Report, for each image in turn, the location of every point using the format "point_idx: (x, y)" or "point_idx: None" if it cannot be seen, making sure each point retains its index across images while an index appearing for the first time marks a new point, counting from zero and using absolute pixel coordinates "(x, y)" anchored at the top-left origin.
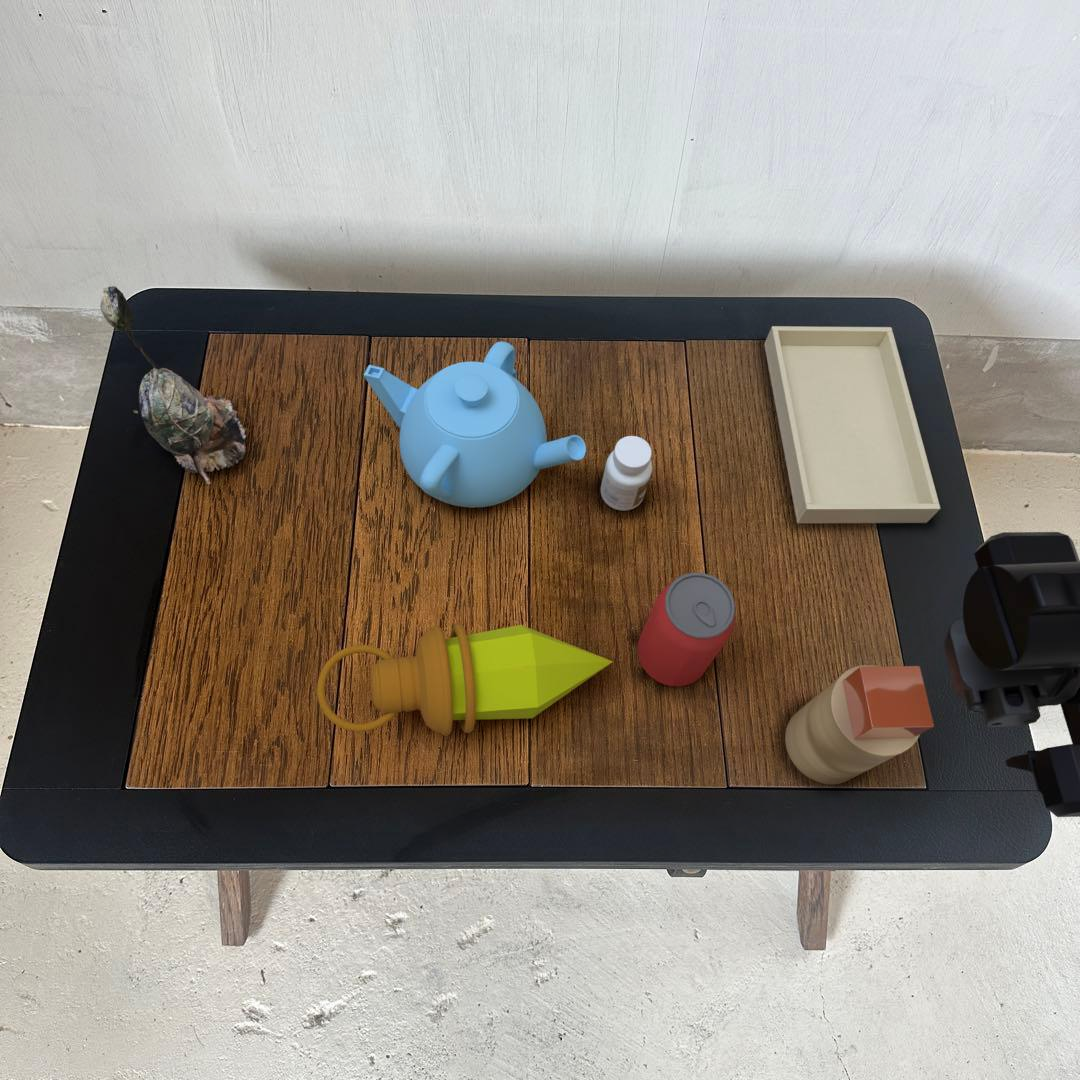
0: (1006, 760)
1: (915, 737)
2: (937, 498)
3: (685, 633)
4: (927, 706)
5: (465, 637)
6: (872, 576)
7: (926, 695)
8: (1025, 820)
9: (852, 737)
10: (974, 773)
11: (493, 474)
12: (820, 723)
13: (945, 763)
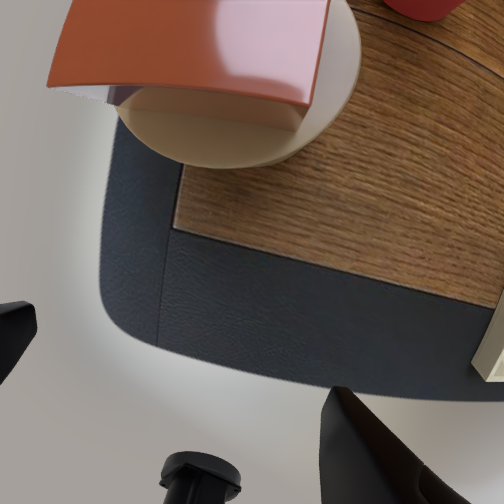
0: (26, 305)
1: (128, 118)
2: (494, 381)
3: None
4: (112, 77)
5: None
6: (452, 279)
7: (154, 82)
8: (128, 322)
9: None
10: (181, 295)
11: None
12: None
13: (198, 266)
